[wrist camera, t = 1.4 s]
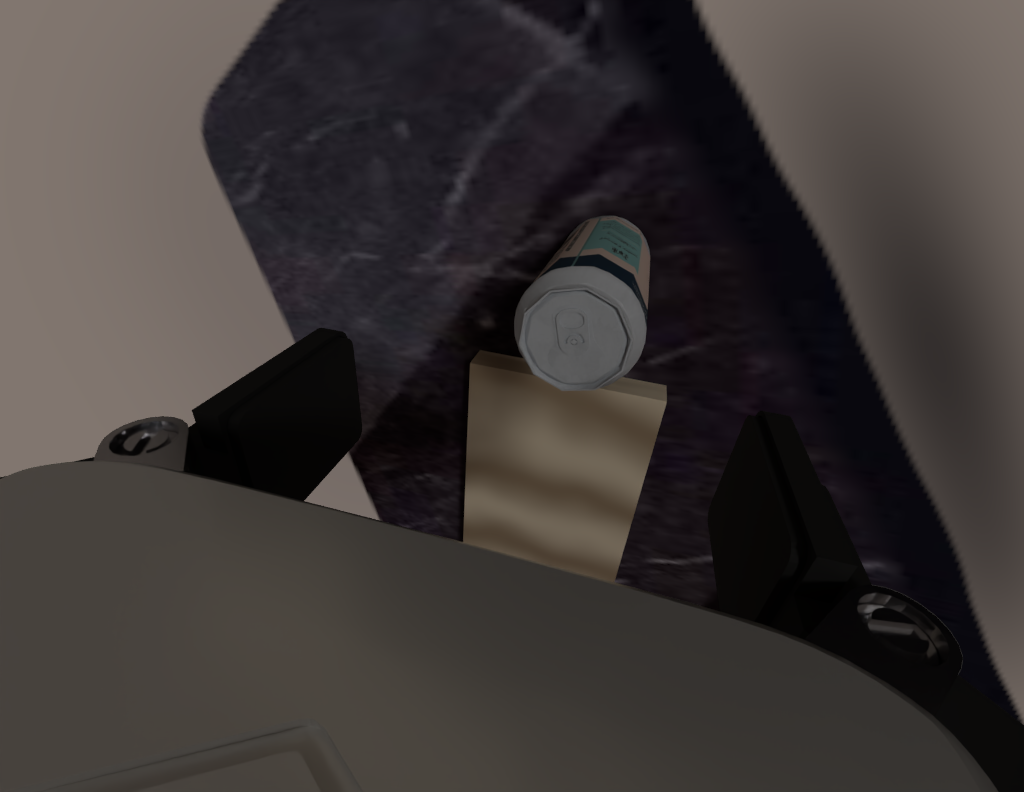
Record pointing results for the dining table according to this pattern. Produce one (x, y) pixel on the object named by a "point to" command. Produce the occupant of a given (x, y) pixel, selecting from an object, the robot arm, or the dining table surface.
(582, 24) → the dining table surface
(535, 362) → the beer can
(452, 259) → the dining table surface
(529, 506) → the birch board
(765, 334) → the dining table surface
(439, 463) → the dining table surface
